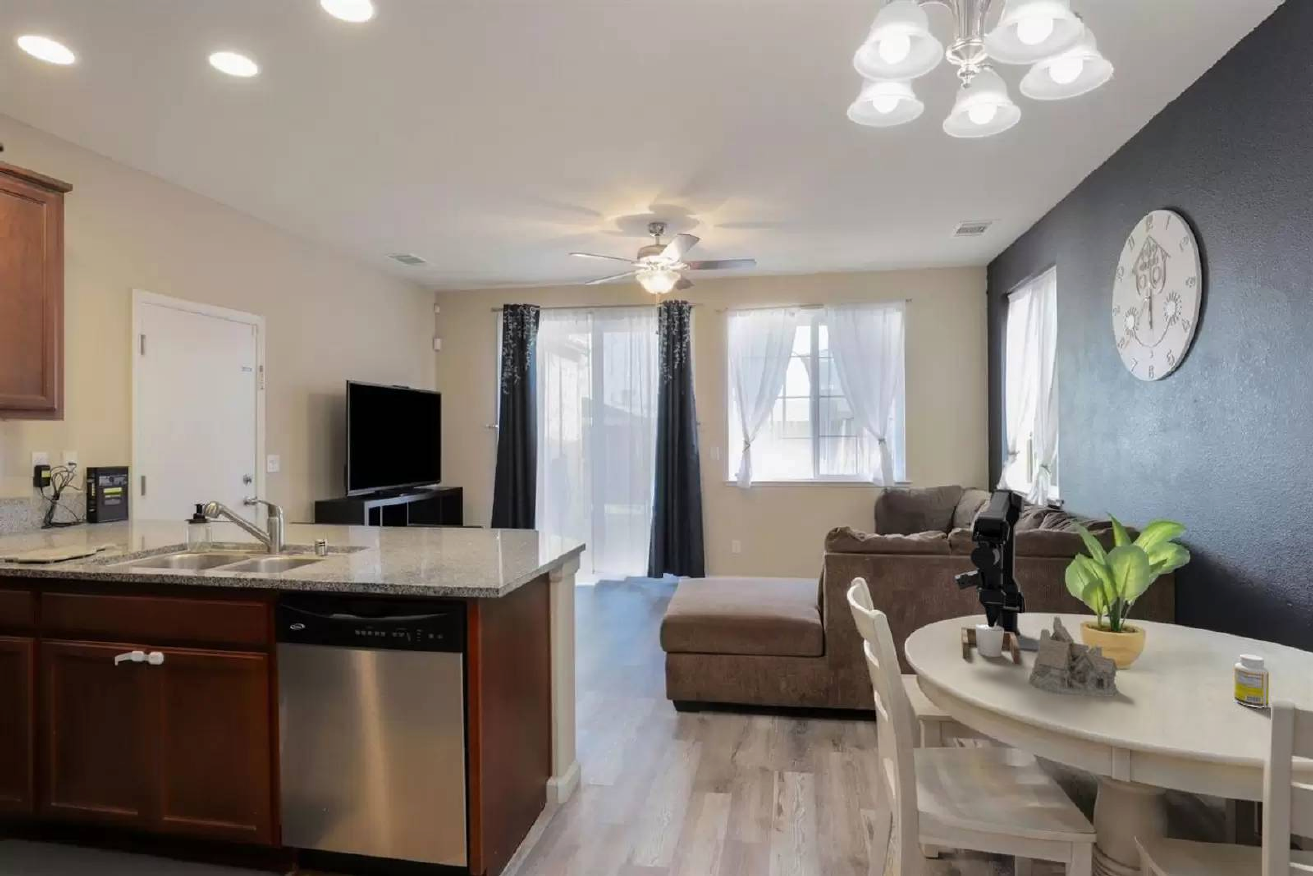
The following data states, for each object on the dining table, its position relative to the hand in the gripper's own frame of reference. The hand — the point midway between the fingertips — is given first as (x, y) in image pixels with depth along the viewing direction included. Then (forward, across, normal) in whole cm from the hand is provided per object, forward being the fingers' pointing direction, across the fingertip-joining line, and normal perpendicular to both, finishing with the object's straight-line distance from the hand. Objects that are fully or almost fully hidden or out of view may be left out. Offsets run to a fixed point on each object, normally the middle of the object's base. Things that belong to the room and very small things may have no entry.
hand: (989, 622), depth 183 cm
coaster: (+8, -11, +12) cm, 18 cm away
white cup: (+8, 0, 0) cm, 8 cm away
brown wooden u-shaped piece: (+8, 0, 0) cm, 8 cm away
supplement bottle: (+8, +16, +50) cm, 53 cm away
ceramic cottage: (+8, +19, +16) cm, 26 cm away
